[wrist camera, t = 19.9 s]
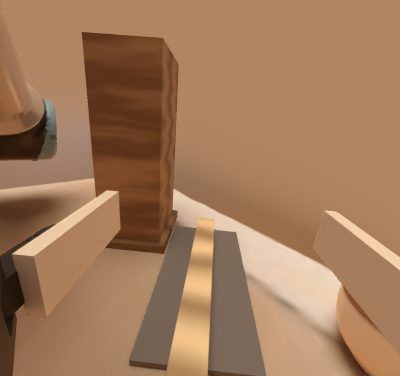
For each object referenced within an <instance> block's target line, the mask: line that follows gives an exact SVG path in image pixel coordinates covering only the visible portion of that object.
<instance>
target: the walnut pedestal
mask: <svg viewBox="0 0 400 376" xmlns="http://www.w3.org/2000/svg"><path fill="white" fill-rule="evenodd" d="M82 39H83V52H84V63H85V75H86V86H87V98H88V109H89V121H90V132H91V144H92V155H93V167H94V179H95V190H96V197H98V196H99V195H101V194H102V193H104V192H105V191H107V190H108V191H119V210H120V230H119V232H118V233H117V234H116V235H115V236H114V238H113V239H112V240H111V241H110V242H109V244H108V245H107V246H106V247H107V248H116V249H126V250H135V251H144V252H154V253H164V250H165V247H166V244H167V242H168V239H169V236H170V234H171V231H172V228H173V226H174V223H175V220H176V218H177V211H176V210H172V207H173V182H174V159H175V135H176V112H177V87H178V63H177V61H176V59H175V58H174V56H173V54H172V53H171V51H170V49H169V48H168V46H167V44H166V43H165V41H164V39H163V38H154V37H140V36H127V35H126V36H125V35H114V34H100V33H87V32H82Z"/></svg>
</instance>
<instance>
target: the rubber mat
mask: <svg viewBox="0 0 400 376" xmlns="http://www.w3.org/2000/svg"><path fill="white" fill-rule="evenodd" d="M195 232H196V228H189V227H179V226H176V227H175V230H174V233H173V236H172V239H171V242H170V245H169V247H168V250H167V253H166V256H165V259H164V262H163V265H162V268H161V270H160V273H159V276H158V279H157V282H156V285H155V288H154V291H153V293H152V296H151V299H150V302H149V305H148V308H147V311H146V314H145V317H144V319H143V322H142V325H141V328H140V331H139V334H138V337H137V340H136V342H135V345H134V348H133V351H132V354H131V357H130V360H129V364H130V365H135V366H143V367H151V368H159V369H167V366H168V361H169V356H170V351H171V347H172V342H173V337H174V332H175V328H176V323H177V318H178V313H179V309H180V304H181V299H182V294H183V290H184V285H185V280H186V275H187V270H188V266H189V261H190V256H191V251H192V247H193V242H194V237H195ZM208 375H216V376H266V372H265V367H264V363H263V358H262V353H261V348H260V344H259V339H258V334H257V329H256V325H255V320H254V315H253V310H252V306H251V301H250V296H249V291H248V287H247V282H246V277H245V272H244V268H243V263H242V258H241V253H240V249H239V244H238V239H237V234H236V232H228V231H219V230H214V241H213V264H212V286H211V308H210V331H209V353H208Z"/></svg>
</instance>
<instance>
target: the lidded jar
mask: <svg viewBox="0 0 400 376" xmlns="http://www.w3.org/2000/svg"><path fill="white" fill-rule="evenodd" d="M336 315H337V321H338V326H339V329H340V332H341V334H342V337H343V339H344V341H345V343H346V344H347V346H348V348H349V349H350V351H351V353H352V355H353V357H354V359H355V360H356V361H357V363H358V364H359V365H360V367H361V368H362V369H363V370H364V371H365V372H366V373H367V374H368V375H369V376H400V355H399V354H398V353H397V351H396V350H395V349H394V348H393V346H392V345H391V344H390V343H389V342H388V340H387V339H386V338H385V337H384V335H383V334H382V333H381V332H380V330H379V329H378V328H377V327H376V325H375V324H374V323H373V322H372V320H371V319H370V318H369V317H368V315H367V314H366V313H365V312H364V311H363V309H362V308H361V307H360V306H359V304H358V303H357V302H356V301H355V299H354V298H353V297H352V296H351V294H350V293H349V292H348V291H347V289H346V288H345V287H344V286H343V284H342V283H341V286H340V290H339V293H338V297H337V308H336Z"/></svg>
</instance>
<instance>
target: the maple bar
mask: <svg viewBox="0 0 400 376" xmlns="http://www.w3.org/2000/svg"><path fill="white" fill-rule="evenodd" d="M213 241H214V219H207V218H198V223H197V228H196V232H195V237H194V242H193V247H192V251H191V256H190V261H189V266H188V270H187V275H186V280H185V285H184V290H183V294H182V299H181V304H180V309H179V313H178V318H177V323H176V328H175V332H174V337H173V342H172V347H171V351H170V356H169V361H168V366H167V370H166V375H165V376H207V375H208V353H209V331H210V308H211V286H212V264H213Z"/></svg>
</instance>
